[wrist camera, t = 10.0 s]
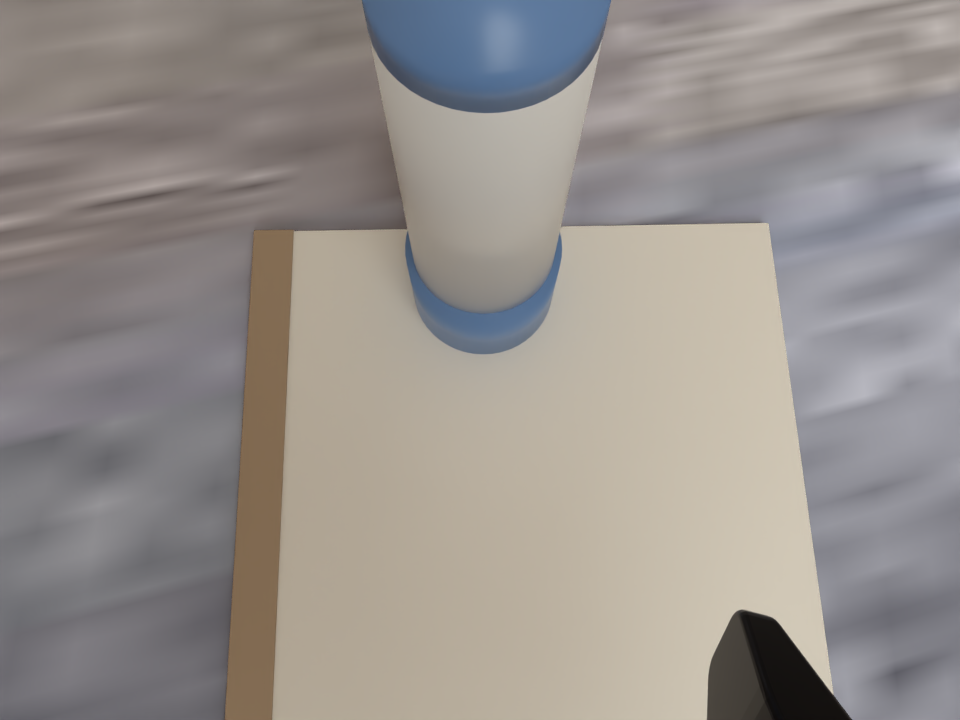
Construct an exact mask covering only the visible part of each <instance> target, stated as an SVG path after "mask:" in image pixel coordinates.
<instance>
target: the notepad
mask: <svg viewBox="0 0 960 720" xmlns="http://www.w3.org/2000/svg"><path fill="white" fill-rule="evenodd" d="M407 231H408V229H390V230H331V231H294V230H254V240H253V257H252V274H251V290H250V307H249V324H248V340H247V357H246V374H245V390H244V407H243V424H242V440H241V457H240V474H239V491H238V507H237V524H236V541H235V557H234V574H233V591H232V607H231V624H230V641H229V657H228V674H227V691H226V707H225V720H707V696H708V673H709V667H710V663H711V659H712V657H713V654H714V652H715V650H716V648H717V646H718V644H719V642H720V640H721V638H722V636H723V634H724V632H725V629H726V627H727V625H728V623H729V621H730V619H731V617H732V616H733V614H734V613H735V612H736V611H738V610H742V609H743V610H748V611H752V612H756V613H759V614H763V615H767V616H770V617H772V618H774V619H775V620H776V621H777V622H778V623H779V624H780V625H781V626H782V628H783V629H784V630H785V632H786V633H787V634H788V636H789V637H790V638H791V640H792V641H793V642H794V644H795V645H796V646H797V648H798V649H799V650H800V652H801V653H802V654H803V656H804V657H805V658H806V660H807V661H808V662H809V664H810V665H811V666H812V668H813V669H814V670H815V671H816V673H817V674H818V675H819V677H820V678H821V679H822V681H823V682H824V683H825V685H826V686H827V687H828V689H829V690H830V691H831V693H832V694H833V687H832V680H831V673H830V666H829V659H828V651H827V644H826V637H825V630H824V622H823V615H822V608H821V601H820V594H819V586H818V579H817V572H816V565H815V557H814V550H813V543H812V536H811V529H810V521H809V514H808V507H807V500H806V492H805V485H804V478H803V471H802V463H801V456H800V449H799V442H798V435H797V427H796V420H795V413H794V406H793V398H792V391H791V384H790V377H789V370H788V362H787V355H786V348H785V341H784V333H783V326H782V319H781V312H780V304H779V297H778V290H777V283H776V276H775V268H774V261H773V254H772V247H771V239H770V232H769V225H768V223H741V224H683V225H624V226H565V227H561V228H560V235H561V240H562V258H561V263H560V268H559V272H558V276H557V280H556V284H555V288H554V292H553V296H552V300H551V304H550V308H549V311H548V313H547V316H546V317H545V319H544V321H543V323H542V324H541V326H540V327H539V329H538V330H537V331H536V332H535V333H534V334H533V335H532V336H531V337H530V338H528V339H527V340H526V341H525V342H523V343H521V344H520V345H518V346H516V347H514V348H512V349H509V350H506V351H503V352H499V353H494V354H472V353H467V352H463V351H460V350H457V349H455V348H453V347H451V346H448V345H447V344H445V343H444V342H442V341H441V340H439V339H438V338H437V337H436V336H435V335H433V334H432V332H431V331H430V330H429V329H428V328H427V327H426V325H425V324H424V322H423V321H422V319H421V317H420V315H419V313H418V310H417V306H416V303H415V299H414V294H413V290H412V285H411V281H410V276H409V272H408V267H407V262H406V256H405V242H406V235H407Z"/></svg>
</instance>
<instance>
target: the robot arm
mask: <svg viewBox="0 0 960 720" xmlns="http://www.w3.org/2000/svg"><path fill="white" fill-rule="evenodd" d="M707 720H852V719H851V718H850V717H849V715H848V714H847V713H846V711H845V710H844V709H843V707H842V706H841V705H840V703H839V702H838V701H837V699H836V698H835V697H834V695H833V694H832V693H831V691H830V690H829V689H828V687H827V686H826V685H825V683H824V682H823V681H822V679H821V678H820V677H819V675H818V674H817V673H816V671H815V670H814V669H813V668H812V666H811V665H810V664H809V662H808V661H807V660H806V658H805V657H804V656H803V654H802V653H801V652H800V650H799V649H798V648H797V646H796V645H795V644H794V642H793V641H792V640H791V638H790V637H789V636H788V634H787V633H786V632H785V630H784V629H783V628H782V626H781V625H780V624H779V623H778V622H777V621H776V620H775V619H774V618H772V617H770V616H767V615H763V614H759V613H756V612H752V611H748V610H743V609H742V610H738V611H736V612H735V613H734V614H733V616H732V617H731V619H730V621H729V623H728V625H727V627H726V629H725V632H724V634H723V636H722V638H721V640H720V642H719V644H718V646H717V648H716V650H715V652H714V654H713V657H712V659H711V663H710V667H709V673H708V696H707Z"/></svg>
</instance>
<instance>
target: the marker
mask: <svg viewBox="0 0 960 720" xmlns="http://www.w3.org/2000/svg"><path fill="white" fill-rule="evenodd" d="M362 3H363V8H364V13H365V18H366V23H367V28H368V33H369V38H370V43H371V48H372V53H373V58H374V63H375V68H376V73H377V78H378V83H379V88H380V93H381V98H382V103H383V108H384V113H385V118H386V123H387V128H388V133H389V138H390V143H391V149H392V154H393V159H394V164H395V169H396V174H397V179H398V184H399V189H400V194H401V199H402V204H403V209H404V214H405V219H406V224H407V229H408V231H407V235H406V242H405V256H406V262H407V267H408V272H409V276H410V281H411V285H412V290H413V294H414V299H415V303H416V306H417V310H418V313H419V315H420V317H421V319H422V321H423V322H424V324H425V325H426V327H427V328H428V329H429V330H430V331H431V332H432V334H433V335H435V336H436V337H437V338H438V339H439V340H441V341H442V342H444V343H445V344H447V345H448V346H451V347H453V348H455V349H457V350H460V351H463V352H467V353H472V354H494V353H499V352H503V351H506V350H509V349H512V348H514V347H516V346H518V345H520V344H521V343H523V342H525V341H526V340H527V339H528V338H530V337H531V336H532V335H533V334H534V333H535V332H536V331H537V330H538V329H539V327H540V326H541V324H542V323H543V321H544V319H545V317H546V316H547V313H548V311H549V308H550V304H551V300H552V296H553V292H554V288H555V284H556V280H557V276H558V272H559V268H560V263H561V258H562V240H561V235H560V228H561V224H562V219H563V215H564V210H565V206H566V201H567V197H568V192H569V188H570V183H571V179H572V174H573V170H574V165H575V161H576V156H577V152H578V147H579V143H580V138H581V134H582V129H583V125H584V120H585V116H586V111H587V107H588V102H589V98H590V93H591V89H592V84H593V79H594V75H595V70H596V66H597V61H598V57H599V52H600V48H601V43H602V39H603V34H604V30H605V25H606V21H607V16H608V12H609V7H610V3H611V0H362Z"/></svg>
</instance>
